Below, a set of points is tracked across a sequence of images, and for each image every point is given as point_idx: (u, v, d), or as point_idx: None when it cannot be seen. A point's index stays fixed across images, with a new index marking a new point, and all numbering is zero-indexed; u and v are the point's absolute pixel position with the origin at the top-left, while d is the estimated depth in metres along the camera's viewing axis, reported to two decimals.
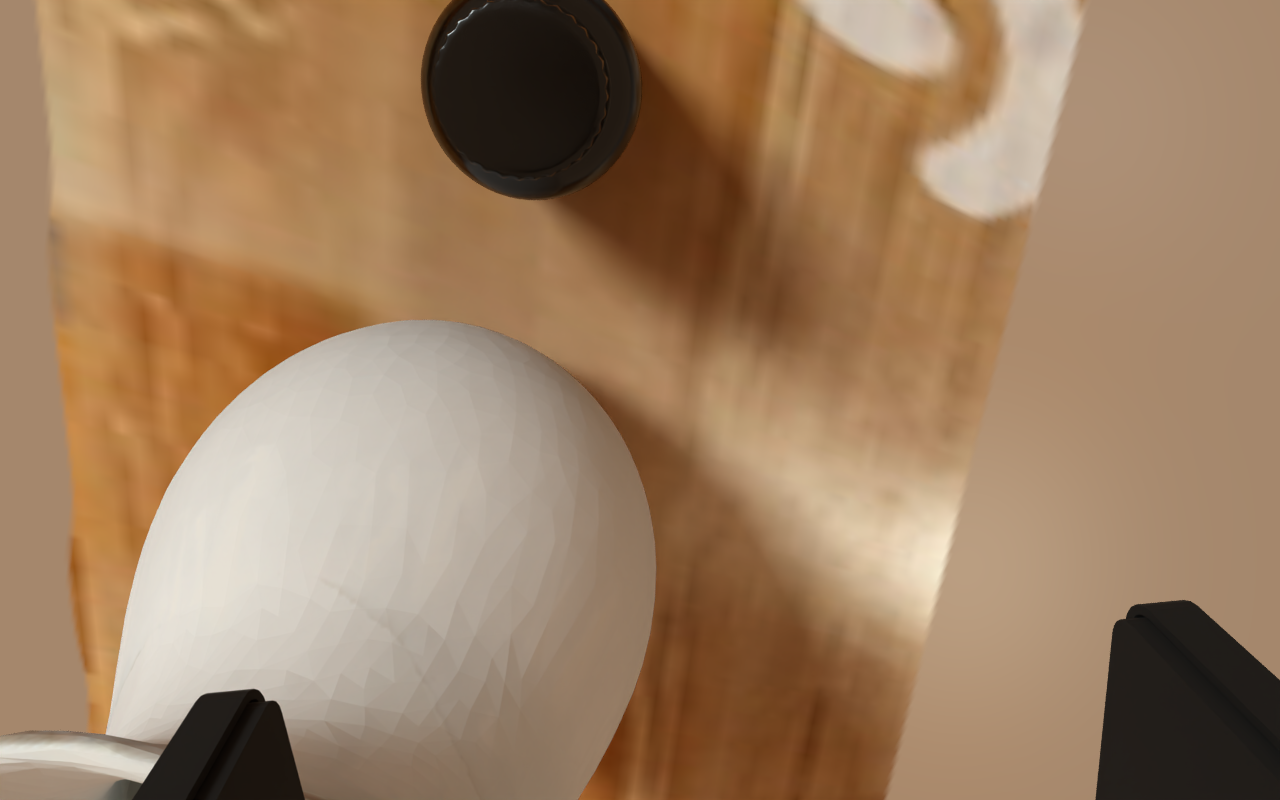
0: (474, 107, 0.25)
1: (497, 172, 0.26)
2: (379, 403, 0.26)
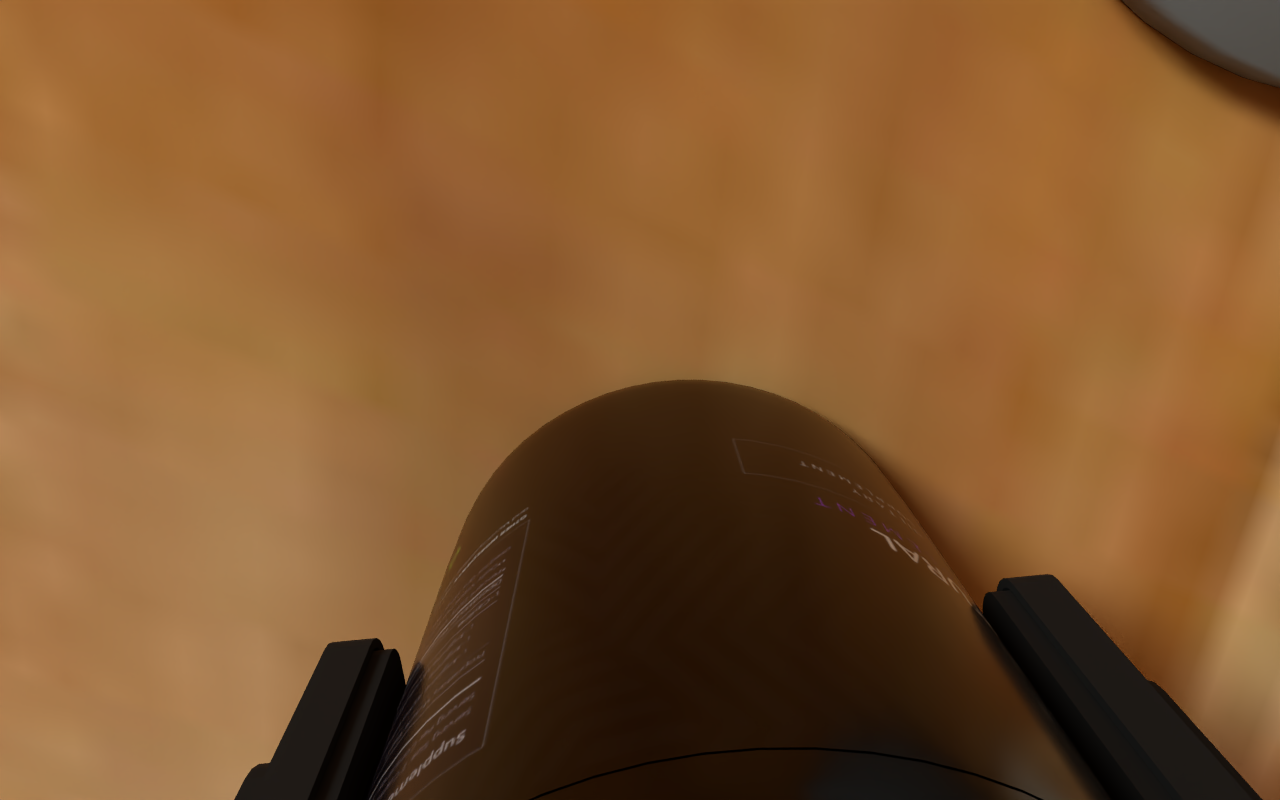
0: None
1: None
2: None
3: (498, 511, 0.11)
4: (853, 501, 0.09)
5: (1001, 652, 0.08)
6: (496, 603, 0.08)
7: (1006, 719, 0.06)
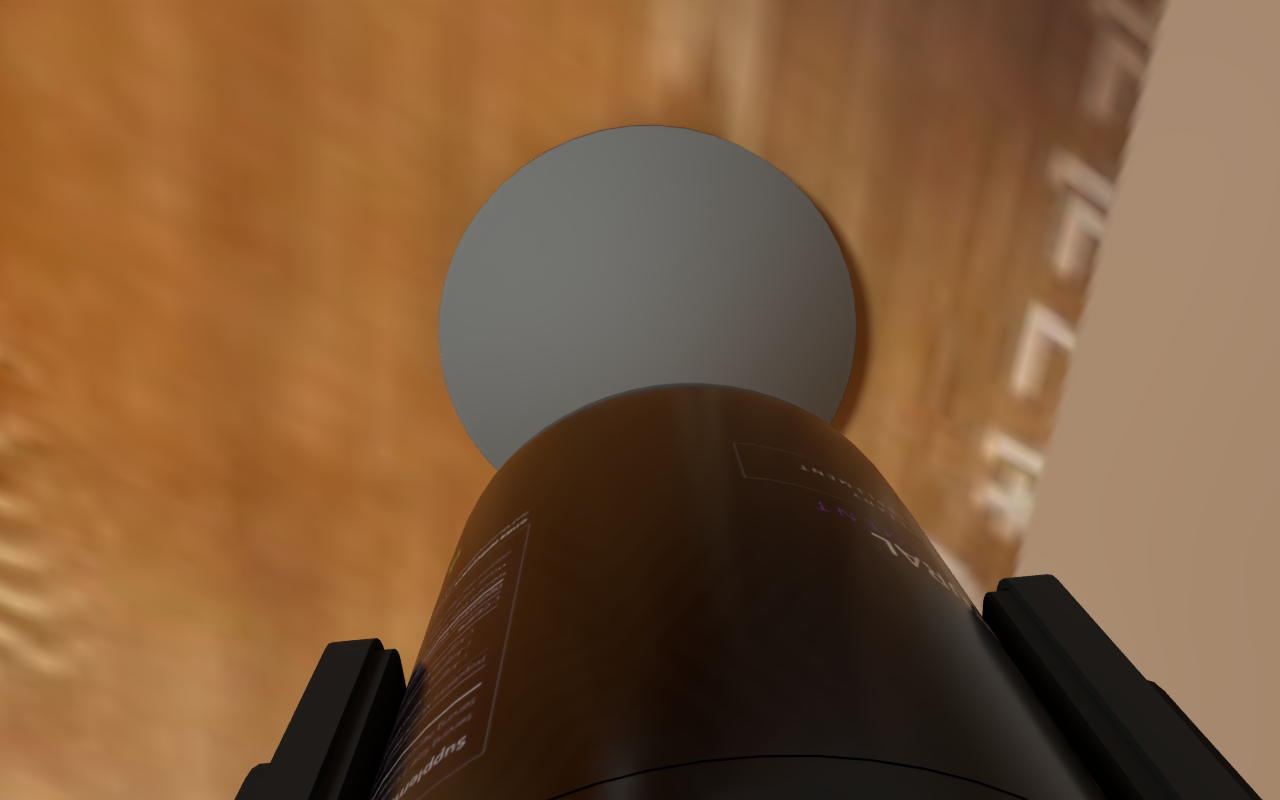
0: None
1: None
2: None
3: (498, 514, 0.11)
4: (854, 505, 0.09)
5: (1002, 657, 0.08)
6: (497, 608, 0.08)
7: (1007, 725, 0.06)
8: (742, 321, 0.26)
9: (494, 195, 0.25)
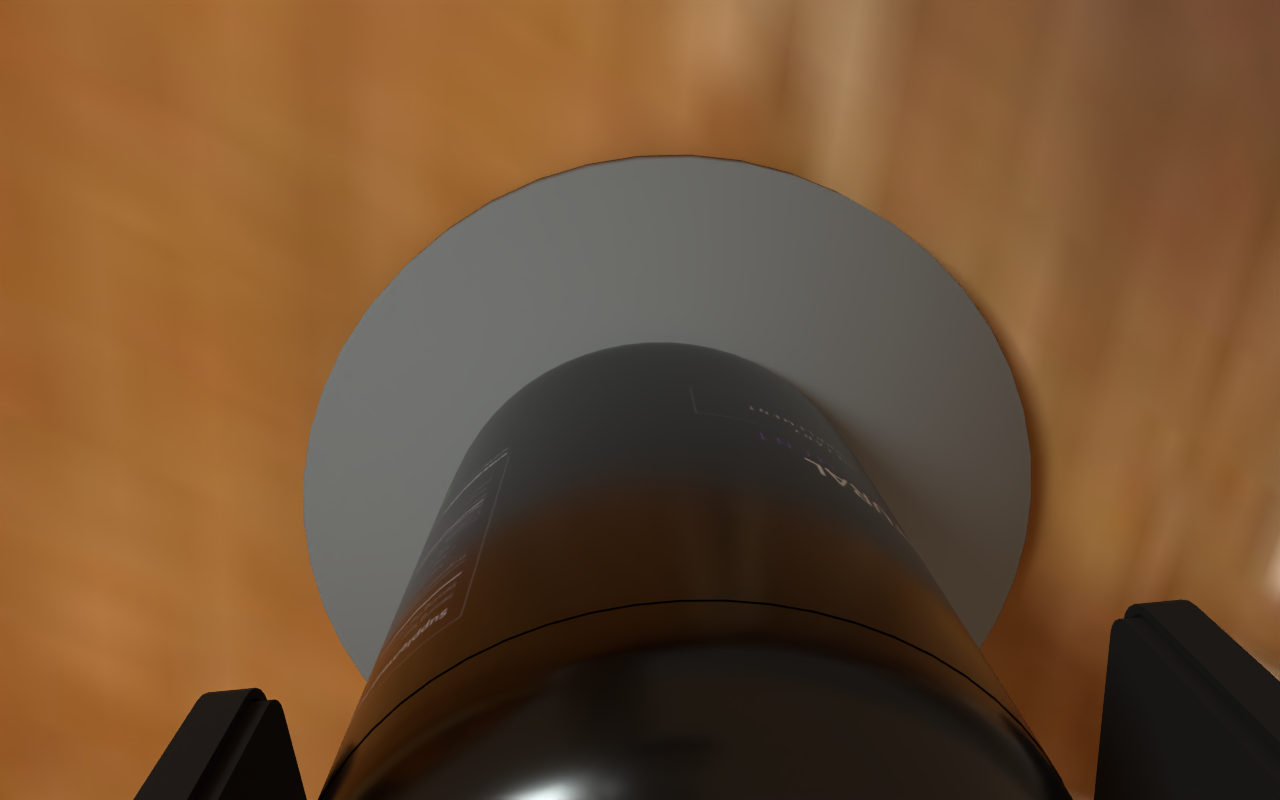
0: None
1: None
2: None
3: (483, 454, 0.12)
4: (793, 437, 0.11)
5: (910, 557, 0.09)
6: (477, 521, 0.10)
7: (895, 594, 0.08)
8: None
9: (394, 283, 0.14)
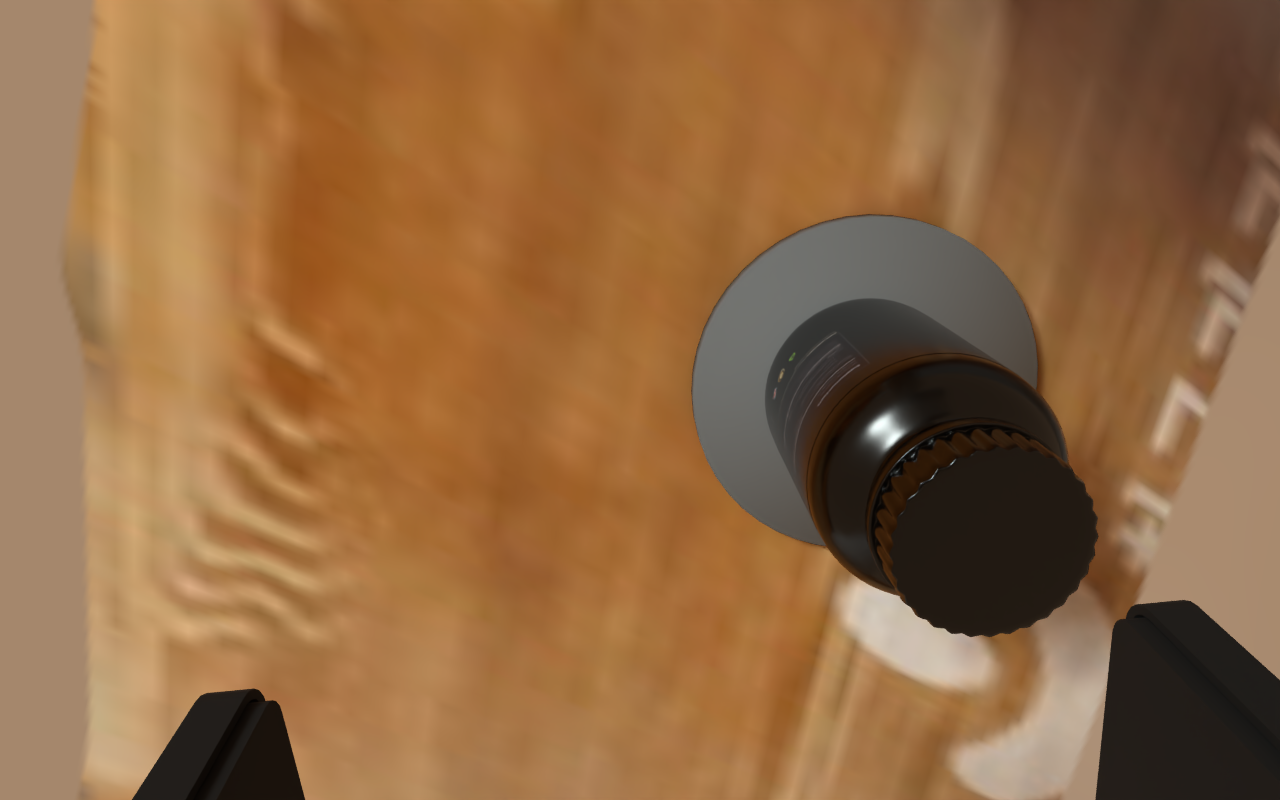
0: (937, 560, 0.21)
1: (948, 628, 0.21)
2: None
3: (816, 336, 0.29)
4: (951, 331, 0.28)
5: None
6: (844, 348, 0.26)
7: None
8: None
9: (758, 264, 0.31)
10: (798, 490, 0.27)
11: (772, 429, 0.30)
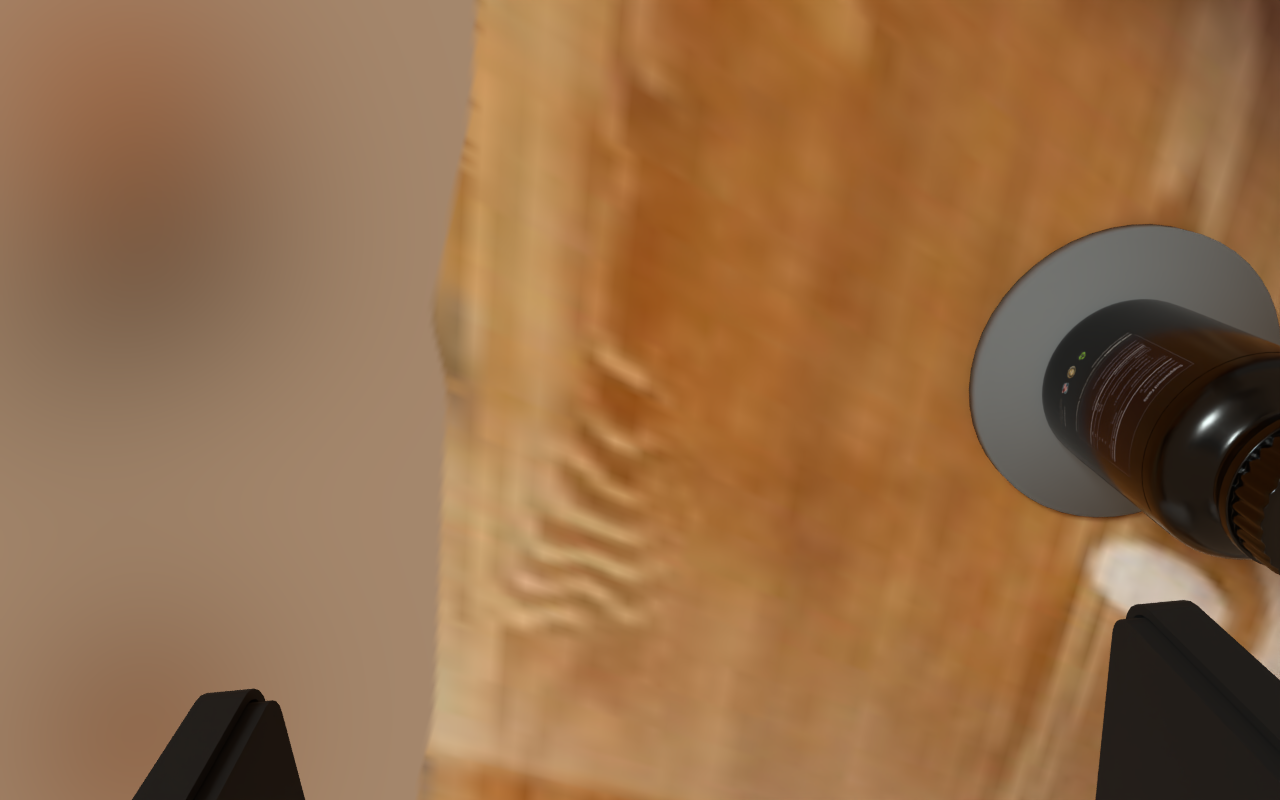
0: None
1: None
2: None
3: (1107, 337, 0.33)
4: None
5: None
6: (1152, 349, 0.31)
7: None
8: None
9: (1038, 275, 0.35)
10: (1114, 472, 0.31)
11: (1060, 419, 0.35)
